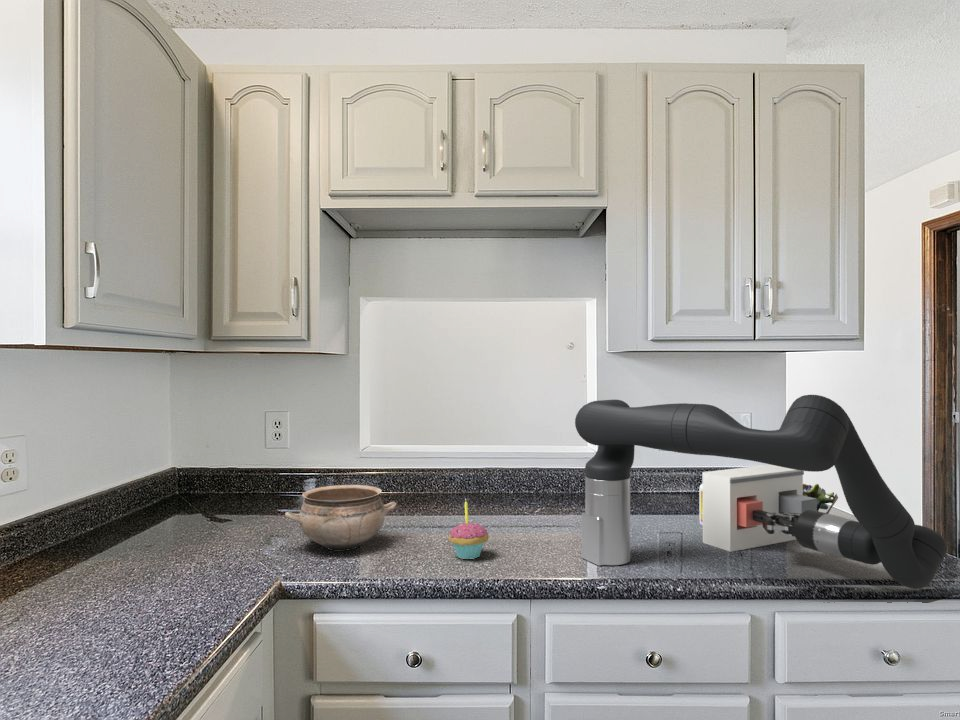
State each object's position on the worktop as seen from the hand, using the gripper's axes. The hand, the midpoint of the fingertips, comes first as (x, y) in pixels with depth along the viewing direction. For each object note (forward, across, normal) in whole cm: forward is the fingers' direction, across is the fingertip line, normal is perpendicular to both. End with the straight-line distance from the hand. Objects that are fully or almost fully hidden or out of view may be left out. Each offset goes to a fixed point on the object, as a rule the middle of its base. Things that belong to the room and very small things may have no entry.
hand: (755, 514), depth 143 cm
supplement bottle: (+20, +8, -8) cm, 23 cm away
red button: (+3, 0, -2) cm, 4 cm away
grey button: (0, +13, -2) cm, 13 cm away
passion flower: (+8, +28, -8) cm, 31 cm away
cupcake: (+25, -57, -8) cm, 62 cm away
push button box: (+6, +6, -8) cm, 12 cm away
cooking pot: (+45, -79, -8) cm, 91 cm away
